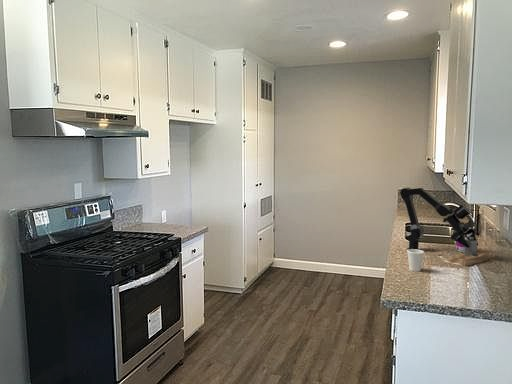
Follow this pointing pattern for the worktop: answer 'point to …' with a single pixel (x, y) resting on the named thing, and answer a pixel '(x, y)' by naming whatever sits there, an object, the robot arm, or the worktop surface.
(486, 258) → the wooden dish rack
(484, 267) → the worktop surface
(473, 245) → the grey knobbed block
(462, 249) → the sparkling drink can
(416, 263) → the dixie cup
